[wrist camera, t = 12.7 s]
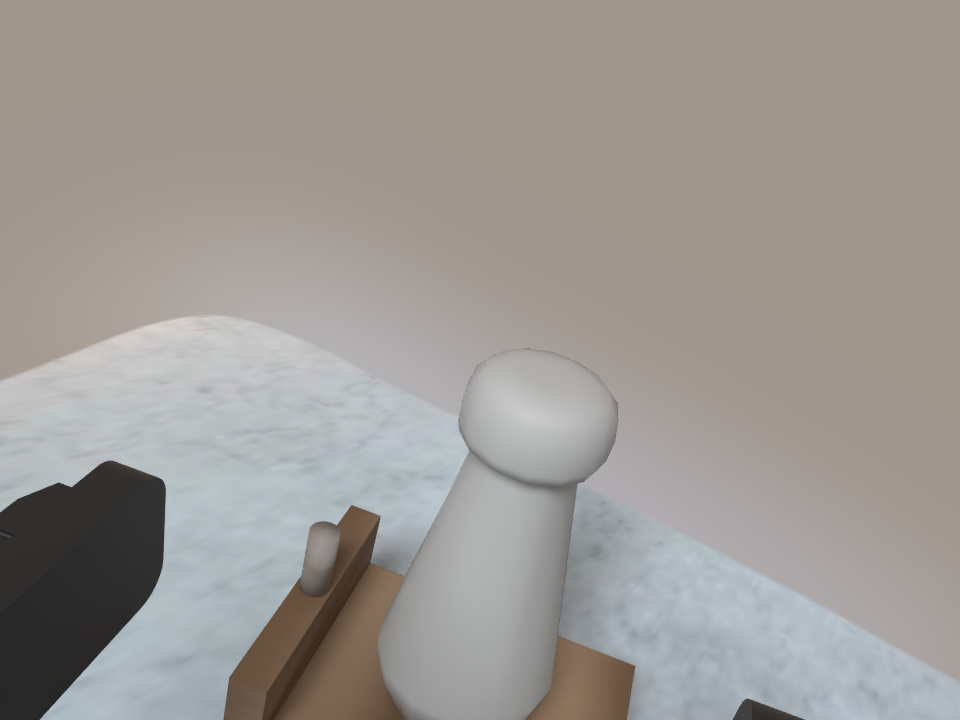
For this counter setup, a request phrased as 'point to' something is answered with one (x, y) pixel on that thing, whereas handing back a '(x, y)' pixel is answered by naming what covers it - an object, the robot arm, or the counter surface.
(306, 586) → the wooden stand
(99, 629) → the robot arm
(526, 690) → the salt shaker
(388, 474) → the counter surface
